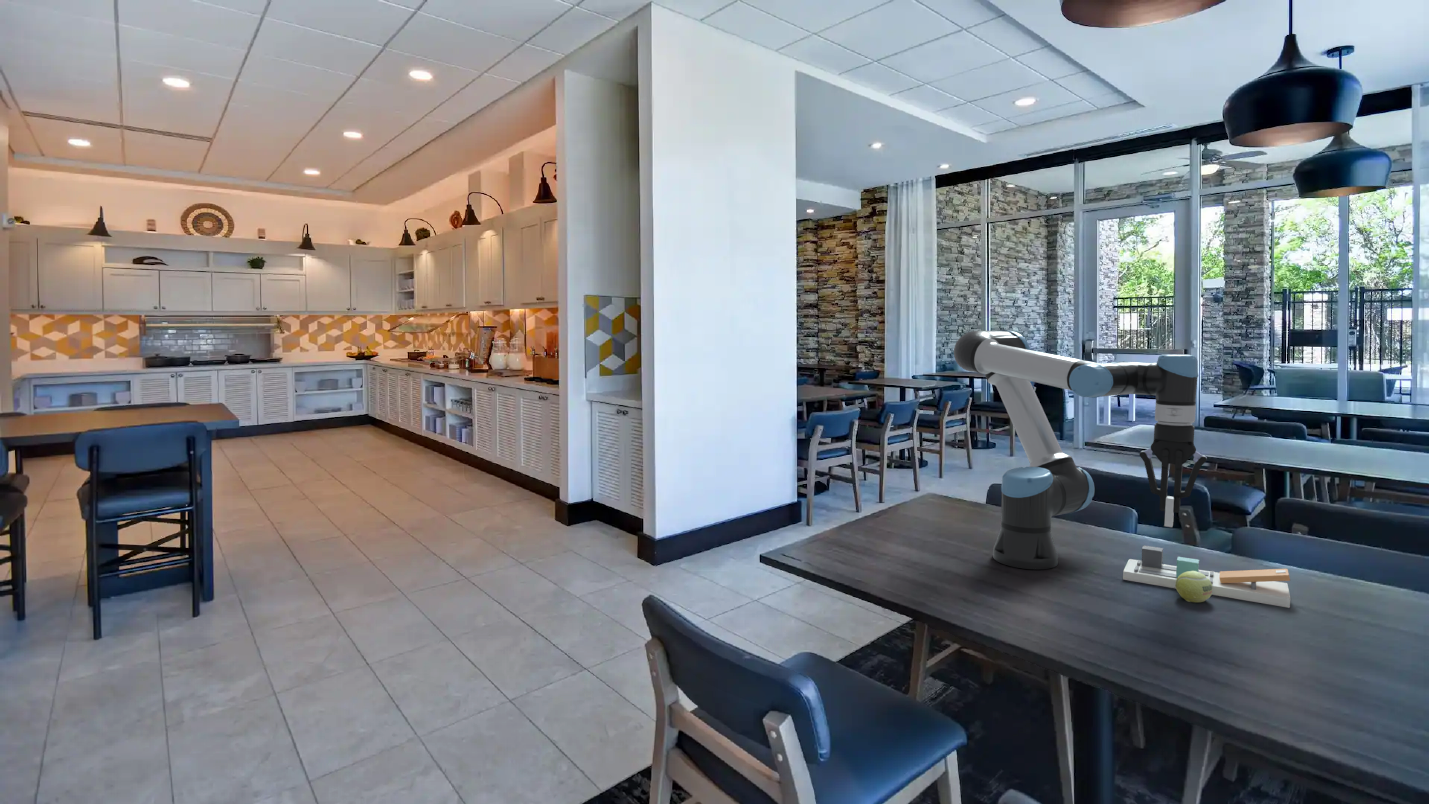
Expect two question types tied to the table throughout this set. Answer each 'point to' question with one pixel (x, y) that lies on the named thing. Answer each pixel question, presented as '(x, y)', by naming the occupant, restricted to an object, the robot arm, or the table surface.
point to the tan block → (1254, 575)
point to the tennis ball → (1193, 586)
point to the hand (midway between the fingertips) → (1168, 525)
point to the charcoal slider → (1152, 556)
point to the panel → (1241, 590)
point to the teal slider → (1186, 565)
